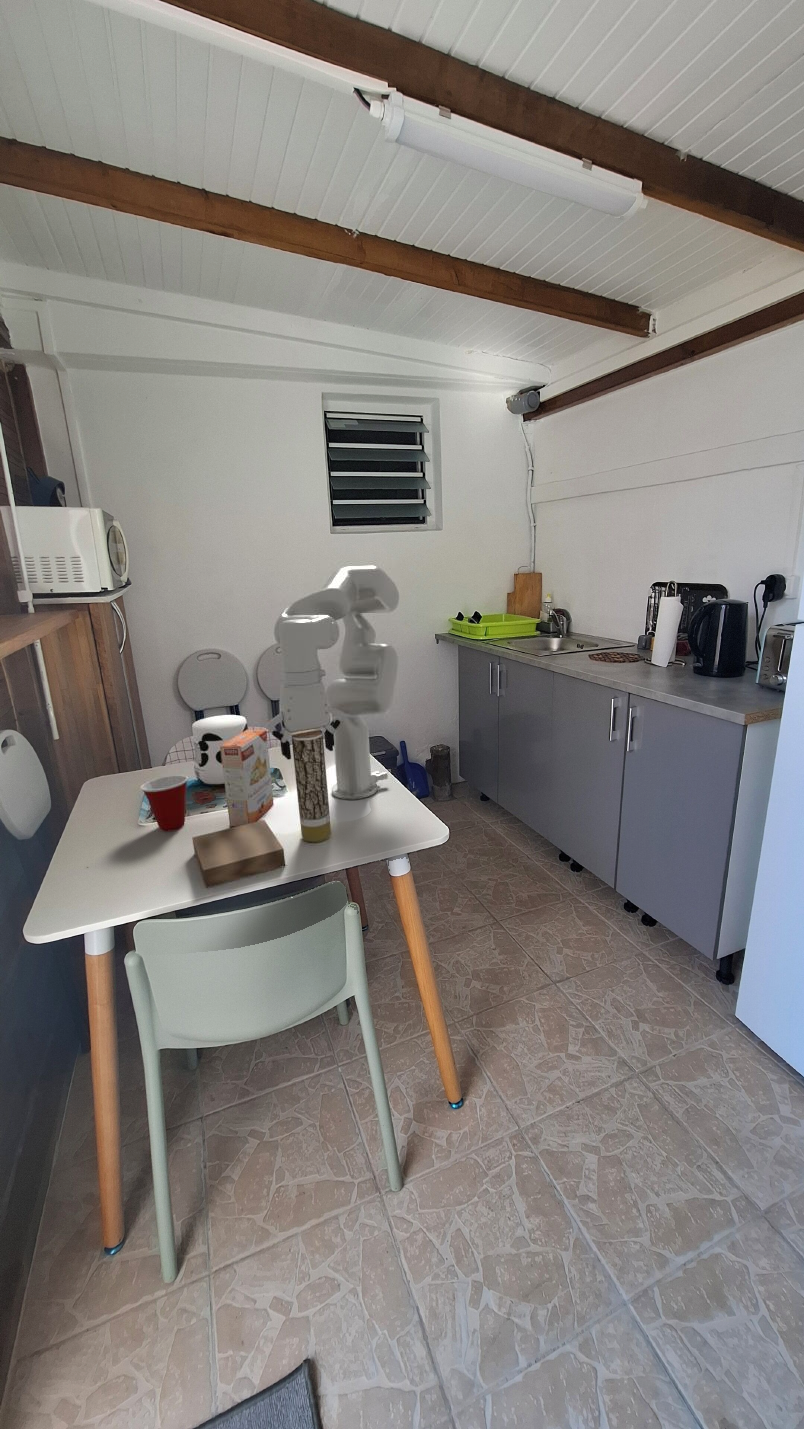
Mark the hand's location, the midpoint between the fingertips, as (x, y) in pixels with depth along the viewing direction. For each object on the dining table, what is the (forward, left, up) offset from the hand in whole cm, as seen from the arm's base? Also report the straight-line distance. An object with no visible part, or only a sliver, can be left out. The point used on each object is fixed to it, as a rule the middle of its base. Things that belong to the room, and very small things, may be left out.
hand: (308, 753), depth 123 cm
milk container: (+11, -50, -21) cm, 55 cm away
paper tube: (0, 0, -20) cm, 20 cm away
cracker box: (+10, -20, -21) cm, 30 cm away
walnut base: (+18, +1, -20) cm, 27 cm away
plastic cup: (+29, -25, -20) cm, 43 cm away
